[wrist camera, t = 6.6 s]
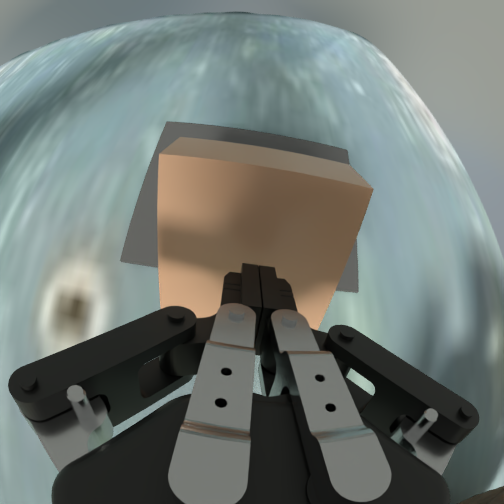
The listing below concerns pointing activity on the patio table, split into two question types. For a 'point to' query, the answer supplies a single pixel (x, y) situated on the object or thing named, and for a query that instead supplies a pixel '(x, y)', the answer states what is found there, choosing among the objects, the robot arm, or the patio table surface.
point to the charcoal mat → (145, 213)
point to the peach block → (253, 221)
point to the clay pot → (487, 497)
